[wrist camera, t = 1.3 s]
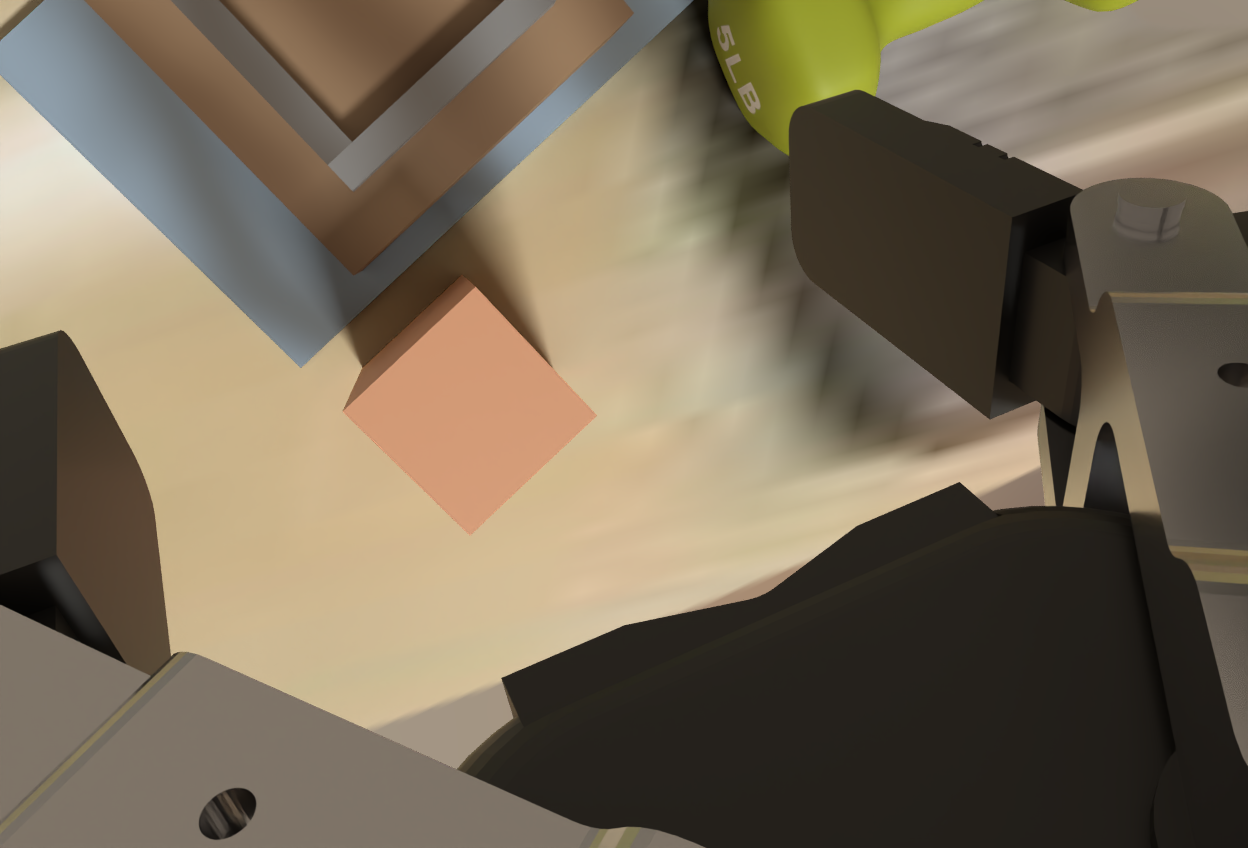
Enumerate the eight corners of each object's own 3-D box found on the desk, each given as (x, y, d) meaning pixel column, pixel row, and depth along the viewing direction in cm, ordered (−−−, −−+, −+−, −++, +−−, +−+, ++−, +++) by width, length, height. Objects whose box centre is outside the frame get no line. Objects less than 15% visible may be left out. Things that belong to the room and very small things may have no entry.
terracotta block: (462, 274, 39) (475, 286, 29) (554, 372, 40) (597, 415, 30) (362, 368, 38) (342, 411, 29) (458, 462, 40) (469, 535, 30)
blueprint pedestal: (432, -351, 35) (433, -473, 29) (702, -9, 38) (755, -55, 32) (-13, 59, 34) (-105, 21, 28) (302, 366, 38) (279, 390, 32)
